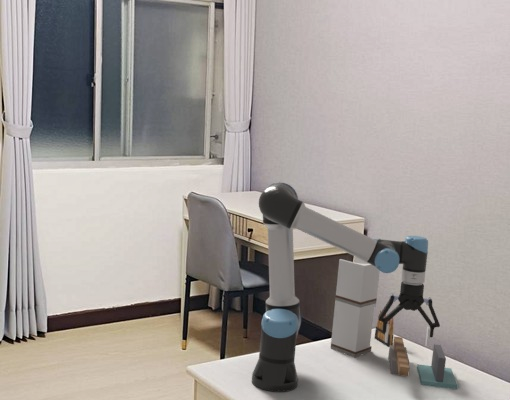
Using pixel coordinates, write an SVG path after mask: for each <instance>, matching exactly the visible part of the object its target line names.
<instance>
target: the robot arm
mask: <svg viewBox="0 0 510 400" xmlns="http://www.w3.org/2000/svg"><path fill="white" fill-rule="evenodd" d="M258 208H259V210H260V213H261V214H262V223H263V224H262V225H264V226H265V227H266V228H267V245H268V248H267V249H268V278H269V284H268V285H269V297H268V298H267V299H266V300H265V312H264V313H263V316H262V319H261V324H260V325H261V332H260V341H259V342H260V343H259V353H258V356H259V357H258V360H257V362H256V365H255V366H254V369H253V371H252V374H251V383H252V384H253V385H254V386H255V387H257V388H259V389H261V390H265V391H270V392H279V393H280V392H282V393H283V392H289V391H292V390H295V389H296V388H297V387H298V384H299V383H298V382H299V376H298V372H297V369H296V368H297V367H296V363H295V358H296V357H295V356H296V348H297V346H296V345H297V338H298V334H299V331H300V327H301V324H302V315H301V311H300V299H299V298H298V297H297V296H296V294H295V293H296V291H295V260H294V257H295V256H294V255H295V253H294V229H297V230H298V231H301V232H303V233H305V234H307V235H310V236H311V237H313V238H315V239H317V240H319V241H322V242H323V243H326V244H328V245H330V246H332V247H333V248H336V249H338V250H339V251H340V250H341V251H342V252H345V253H346V254H349V255H351V256H352V257H357V258H359V259H361V260H363V261H366V262H367V263H369V264H371V265H373V266H375V267H376V268H377V269H378V270H379V271H380V273H383V274H391V273H393V272H395V271H396V270H397V269H398V267H399V266H400V265H402V271H401V282H400V291H399V295H395V294H394V293H390V295H389V298H388V299H389V300H388V301H387V302H386V305H385V306H384V307H383V309H382V310H381V313H380V315H379V314H378V315H377V321H378V320H379V321H382V322H383V329H382V330H383V332H385V343H387V341H388V331H389V322H388V321H389V320H391V319H392V318H393V319H394V317H395V316H396V315H398V313H399V312H401V311H402V310H405V311H411V312H412V311H418V312H419V313H420V315H421V316H422V318H423V319H424V320H425V321H426V323H427V324H428V325H427V327H426V336H425V344H424V345H425V347H426V348H429V346H430V338H433V337H434V331H435V328H440V326H441V325H440V322H439V319H438V317H437V314H436V312H435V309H434V307H433V299H432V298H431V297H428V298H424V290H425V285H424V283H425V278H426V270H427V263H428V262H427V260H428V253H429V252H428V250H429V248H428V247H429V239H427V238H426V237H425V236H420V235H407V236H405V239H404V241H401V240H400V241H399V240H389V239H381V238H377V239H376V238H372V237H370V236H367V235H366V234H363V233H361V232H359V231H358V230H356V229H354V228H351V227H348V226H347V225H345V224H342V223H340V222H338V221H336V220H334V219H332V218H331V217H330V218H329V217H328V216H325V215H323V214H321V213H320V212H317V211H315V210H313V209H311V208H309V207H307V206H306V205H305V203H304V201H302V200H300V199H299V197H298V193H297V192H296V189H295V188H294V187H293V186H292V185H290V184H288V183H285V182H280V181H279V182H274V183H271V184H269V185H268V186H267V187H266V188H265V189H264V190H263V191H262V192H261V194H260V196H259V198H258ZM397 300H398V302H399V304H397V306H396V307H394V308H393V309H392V311H390V312H389V313H388V311H389V310H390V309H391V307H392V306H393V304H394V302H397ZM424 303H425V304H426V306H428V309H429V310H430V313H431V316H432V318H433V321H434V322H433V321H432V320H431V319H430V317H429V315H427V313H426V312H425V310H424V309H423V308H422V305H423V304H424ZM387 313H388V315H387ZM385 315H386V317H385V318H384V316H385Z"/></svg>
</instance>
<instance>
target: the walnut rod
mask: <svg viewBox="0 0 510 400" xmlns="http://www.w3.org/2000/svg"><path fill="white" fill-rule="evenodd" d="M393 346H394V350H395V356H396V361H397V366H398V372H399V375H398V376H401V377H402V376H404V377H409V375H410V374H409V372H410V363H409V364H408V360H407V356H406V351H405V343H404V340H403V337H400V336H393Z"/></svg>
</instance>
